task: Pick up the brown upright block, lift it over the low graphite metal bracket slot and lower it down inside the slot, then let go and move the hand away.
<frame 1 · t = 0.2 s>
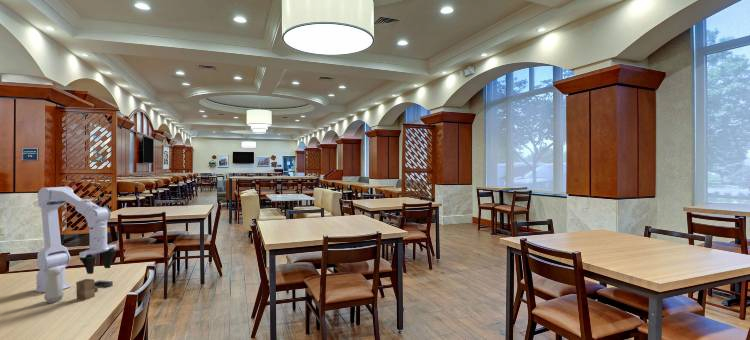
hand: (99, 270, 148), 10 cm above the table, tool pointing down, fingers open, 7 cm apart
brown upright block: (85, 298, 146), on the table
bracket slot: (98, 288, 156), on the table
salt shaker: (54, 301, 142), on the table
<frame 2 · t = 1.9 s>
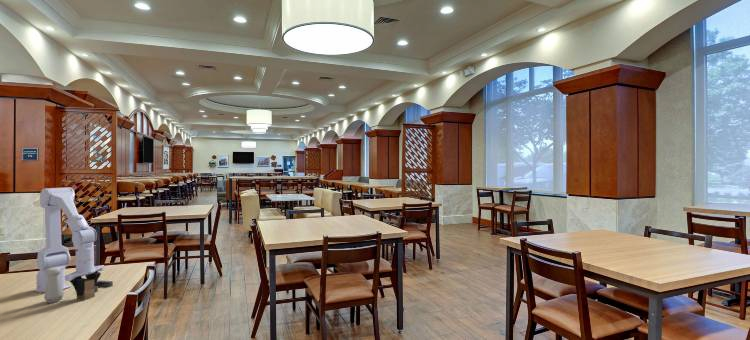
hand: (85, 293, 146), 2 cm above the table, tool pointing down, fingers closed on brown upright block, 4 cm apart
brown upright block: (85, 298, 146), on the table, touching gripper
everything else where it was.
when the fingers open (3 cm above the table, at t = 5.7 s): brown upright block stays where it is, resting in bracket slot.
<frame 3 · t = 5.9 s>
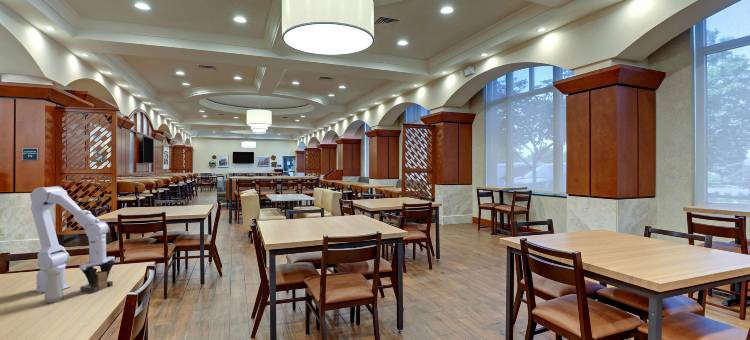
hand: (98, 282, 156), 3 cm above the table, tool pointing down, fingers open, 5 cm apart
brown upright block: (99, 288, 156), resting in bracket slot
everything else where it was.
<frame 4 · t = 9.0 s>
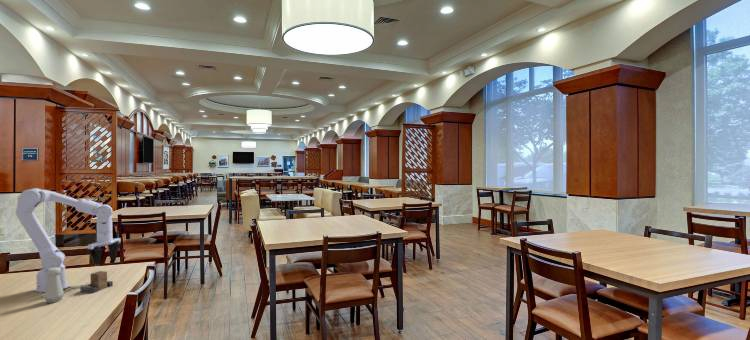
hand: (105, 261, 165), 9 cm above the table, tool pointing down, fingers open, 7 cm apart
nothing on the table moved.
at the end: brown upright block 0.4 cm off-centre on the bracket slot, point 0.0 cm above the bracket slot's base; brown upright block tilted 0°; the gripper is holding nothing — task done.
